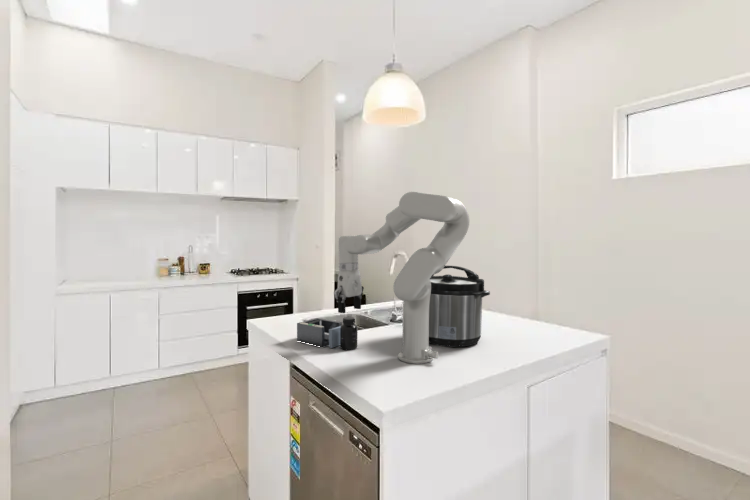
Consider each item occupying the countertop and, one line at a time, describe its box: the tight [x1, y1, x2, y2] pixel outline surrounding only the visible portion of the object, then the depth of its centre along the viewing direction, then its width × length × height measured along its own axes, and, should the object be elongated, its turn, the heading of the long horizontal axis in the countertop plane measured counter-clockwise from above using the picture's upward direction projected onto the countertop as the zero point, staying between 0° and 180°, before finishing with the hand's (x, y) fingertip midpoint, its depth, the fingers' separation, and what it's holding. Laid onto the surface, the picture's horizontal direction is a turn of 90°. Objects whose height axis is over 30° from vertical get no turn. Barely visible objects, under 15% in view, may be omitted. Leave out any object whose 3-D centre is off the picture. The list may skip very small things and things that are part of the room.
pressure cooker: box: [429, 265, 491, 348], centre depth 166 cm, size 30×28×32 cm
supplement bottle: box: [339, 316, 359, 351], centre depth 153 cm, size 7×7×12 cm
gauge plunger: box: [308, 320, 341, 349], centre depth 159 cm, size 13×12×9 cm
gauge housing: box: [296, 317, 343, 348], centre depth 162 cm, size 14×12×8 cm
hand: (349, 310), depth 153 cm, fingers open, 9 cm apart
